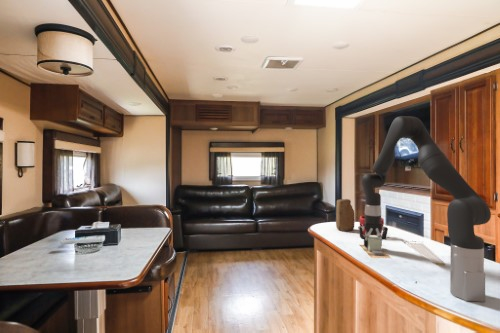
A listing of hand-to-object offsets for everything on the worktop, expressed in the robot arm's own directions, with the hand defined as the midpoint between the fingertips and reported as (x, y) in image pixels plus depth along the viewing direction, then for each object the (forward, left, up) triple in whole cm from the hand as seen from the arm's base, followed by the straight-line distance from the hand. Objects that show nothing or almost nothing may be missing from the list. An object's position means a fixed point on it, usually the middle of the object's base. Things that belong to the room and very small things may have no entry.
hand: (372, 247), depth 149 cm
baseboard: (-1, -23, -3) cm, 23 cm away
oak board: (-2, 0, -3) cm, 3 cm away
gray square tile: (-7, 0, -1) cm, 7 cm away
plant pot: (+28, -8, -3) cm, 29 cm away
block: (+46, +3, -3) cm, 46 cm away
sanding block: (0, 0, -1) cm, 1 cm away
